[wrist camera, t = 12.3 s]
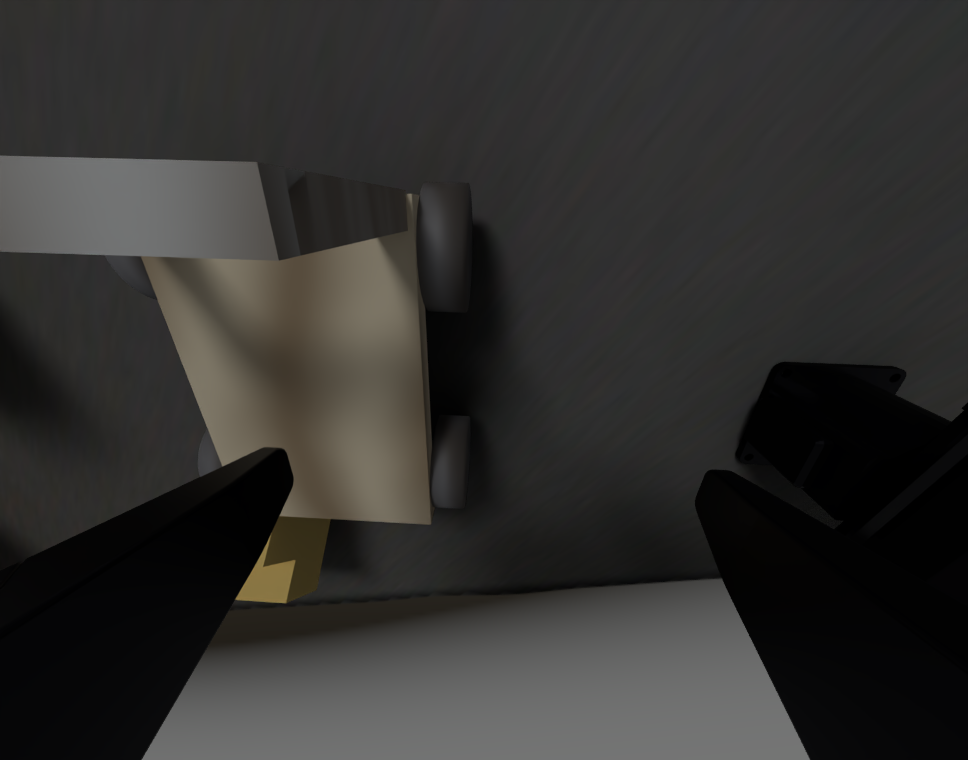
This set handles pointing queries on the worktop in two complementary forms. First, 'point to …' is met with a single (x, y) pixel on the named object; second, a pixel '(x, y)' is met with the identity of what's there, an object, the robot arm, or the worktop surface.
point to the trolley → (282, 311)
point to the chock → (288, 561)
